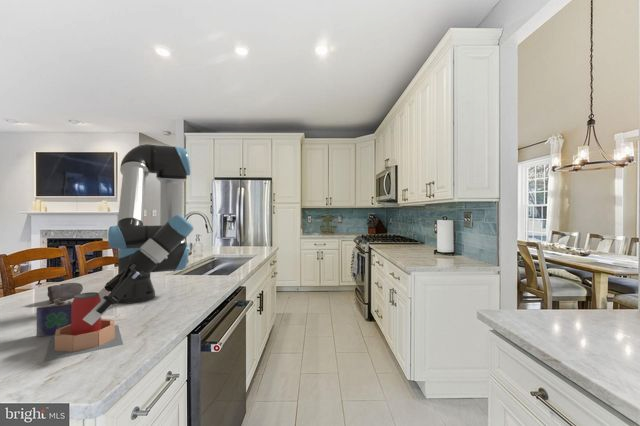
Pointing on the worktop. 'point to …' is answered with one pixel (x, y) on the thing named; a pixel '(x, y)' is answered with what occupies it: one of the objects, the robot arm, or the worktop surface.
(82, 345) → the dish
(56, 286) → the perforated stone tool
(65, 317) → the flask
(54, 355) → the mat
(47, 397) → the worktop surface
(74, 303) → the beer can
